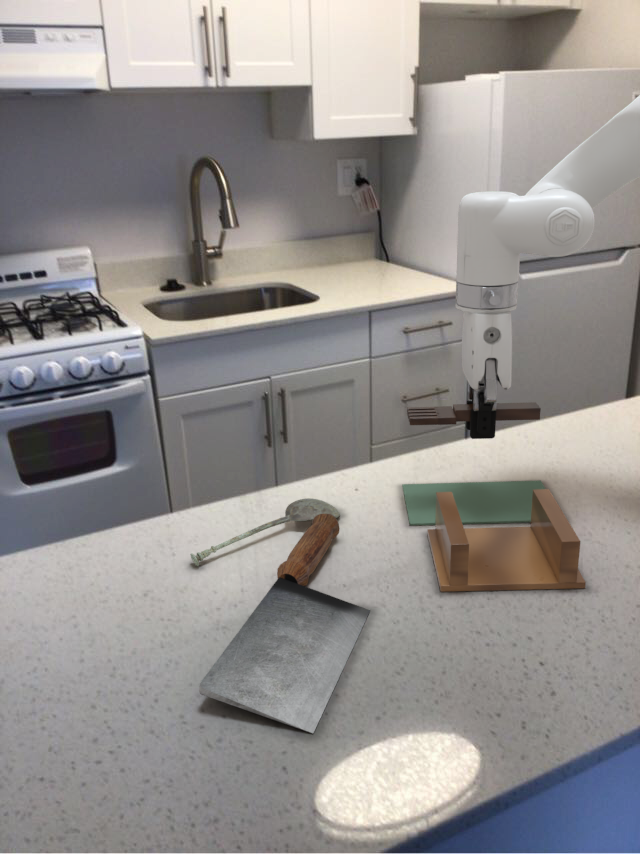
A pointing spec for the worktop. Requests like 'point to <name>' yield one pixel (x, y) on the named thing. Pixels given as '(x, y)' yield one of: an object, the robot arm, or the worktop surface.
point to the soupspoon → (278, 522)
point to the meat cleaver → (290, 642)
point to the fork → (463, 413)
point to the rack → (505, 550)
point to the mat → (473, 501)
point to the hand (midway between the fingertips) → (480, 432)
